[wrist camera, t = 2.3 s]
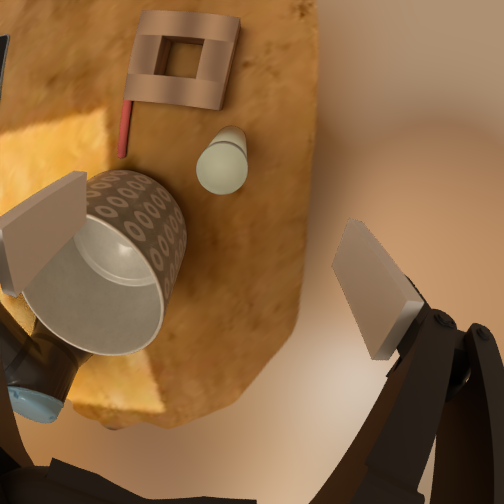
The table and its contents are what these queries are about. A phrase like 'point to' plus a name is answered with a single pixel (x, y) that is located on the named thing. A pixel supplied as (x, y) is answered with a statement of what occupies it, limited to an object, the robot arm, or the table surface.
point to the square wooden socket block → (157, 50)
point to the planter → (113, 267)
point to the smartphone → (3, 55)
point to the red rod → (124, 128)
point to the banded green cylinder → (224, 162)
